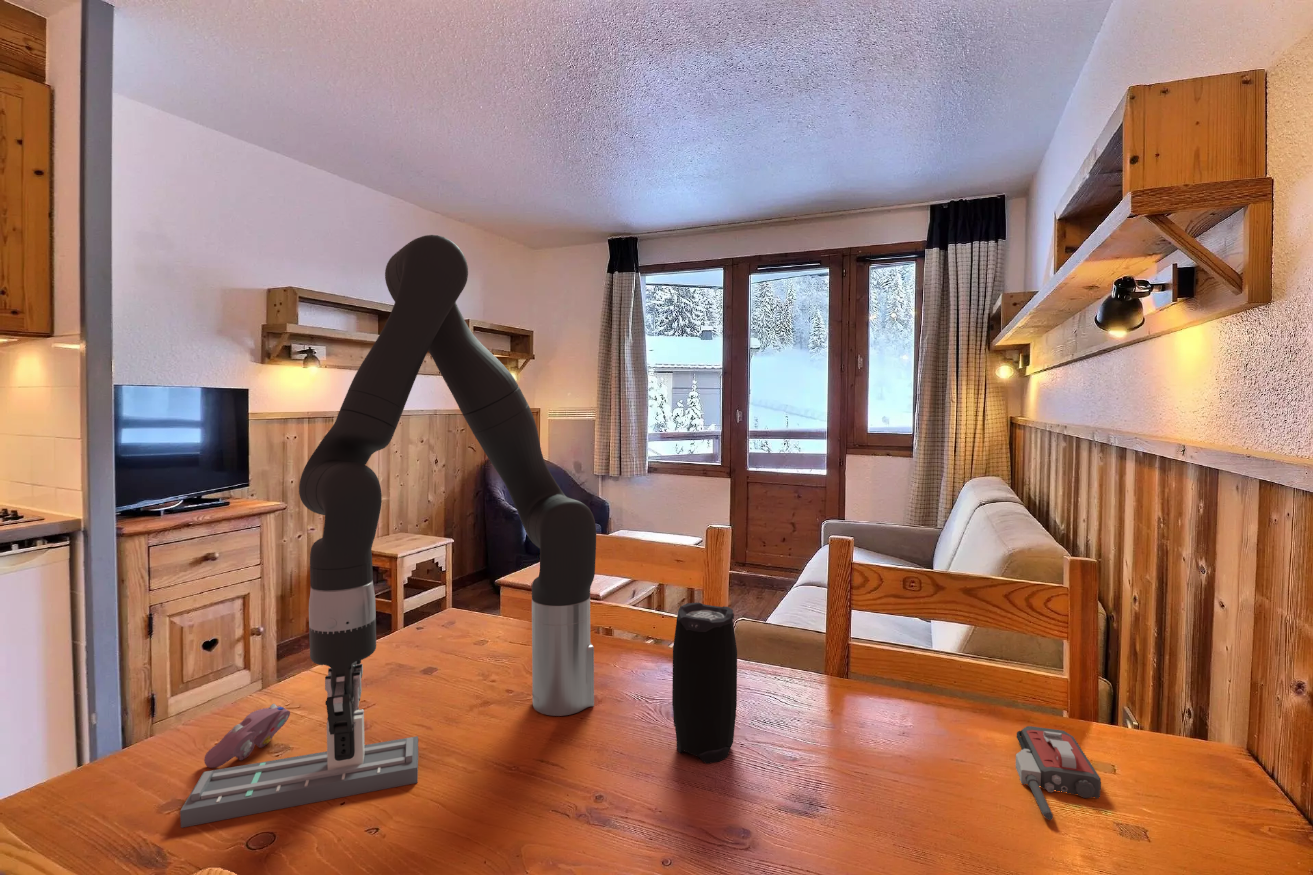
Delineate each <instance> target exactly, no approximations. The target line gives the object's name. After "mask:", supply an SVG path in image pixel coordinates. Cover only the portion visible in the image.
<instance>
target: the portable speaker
mask: <svg viewBox="0 0 1313 875" xmlns="http://www.w3.org/2000/svg"><path fill="white" fill-rule="evenodd" d="M734 615H735V614H734V610H733V609H732V608H731V607H729V606H725V605H724V606H718V605H709V604H705V603H702V602H689V603H685V604H683V605H681V606H679V608H678V610H677V615H676V624H675V631H674V638H673V647H672V687H671V688H672V690H671V691H672V696H671V698H672V701H671V704H672V711H673V712H672V713H673V714H672V715H673V716H672V717H673V727H674V728H675V729H674V730H675V736H676V738H675V739H676V750H677V751H678V753H679V754H681V753H685V752H686V753H688V754H690V755H693V756H695V757H698V758H699V759H700V760H701V761H702V762H704V763H705V764H712V763H718V762H721V761H723V760H724V759H726V758H728V757H729V754H730V751H731V748H732V747H733V744H734V738H735V728H736V719H737V705H738V697H737V696H738V691H737V690H738V649H737V642H736V640H737V639H736V634H735V627H734V621H733V620H734V619H735V616H734Z"/></svg>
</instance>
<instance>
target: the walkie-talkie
mask: <svg viewBox="0 0 1313 875" xmlns="http://www.w3.org/2000/svg"><path fill="white" fill-rule="evenodd" d="M1016 739H1017V741H1018V744H1019V745H1020V747H1021V749H1020V751H1019V752H1016V754H1015V769H1016V772H1017V774H1018V776H1019V781H1021V782H1020V784H1021V783H1022V784H1021V785H1024V784H1028V785H1027V786H1028V787H1029V788H1030V789H1031V793H1032V794H1033V797H1034V799H1035V801H1036V803H1037V805H1038V807H1039V809H1040V812H1041V814H1042V816H1043V817H1044V818H1045V819H1046V820H1048V821H1052V820H1053V818H1054V815H1053V813H1052V812H1053V811H1051V808H1050V807H1049V803H1048V802H1047V800H1046V797H1045V795H1044V793H1043V791H1042V789H1043V788H1044V789H1043V790H1045V789H1046V790H1045V791H1047V792H1048V793H1053V792H1057V791H1060V792H1059V793H1063V792H1067V793H1066V794H1069V793H1071V794H1070V795H1075V794H1078V795H1077V796H1079V797H1081V798H1084V799H1090V798H1093V797H1095V798H1094V799H1100V798H1099V797H1101V790H1102V782H1101V781H1102V780H1101V777H1100V775H1099V774H1098V773H1097V770H1096V769H1095V768H1094V766H1093V764H1092V763H1091V761H1090V760H1089V759H1088V757H1087V755H1086V754H1085V753H1084V751H1083V749H1082V748H1081V746H1080V745H1079V743H1078V742H1077V740H1076V739H1075V736H1074V735H1071V734H1070V733H1068V732H1066V731H1065V730H1062V729H1056V728H1055V729H1054V728H1046V727H1040V726H1030V725H1028V726H1025V727H1024V728H1022V729H1021V730H1019V731H1017V732H1016ZM1039 786H1041V787H1042V788H1041V787H1039ZM1054 790H1056V791H1054ZM1061 791H1062V792H1061Z"/></svg>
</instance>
